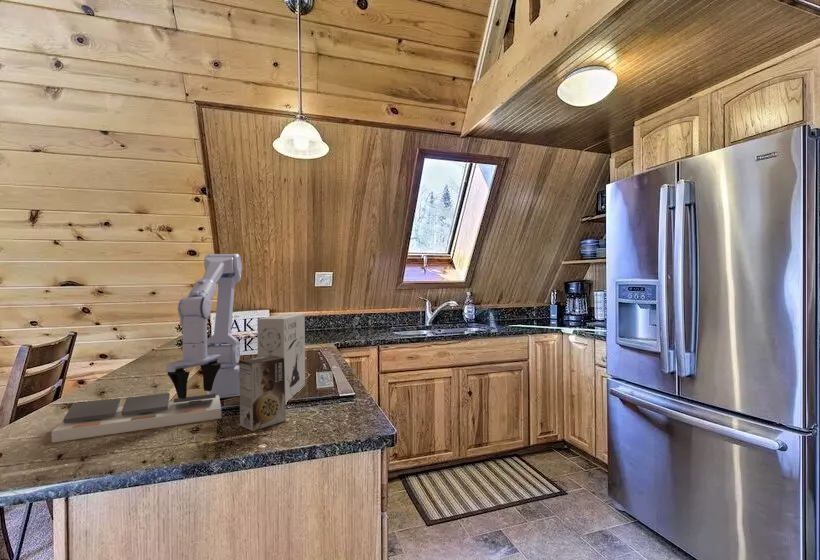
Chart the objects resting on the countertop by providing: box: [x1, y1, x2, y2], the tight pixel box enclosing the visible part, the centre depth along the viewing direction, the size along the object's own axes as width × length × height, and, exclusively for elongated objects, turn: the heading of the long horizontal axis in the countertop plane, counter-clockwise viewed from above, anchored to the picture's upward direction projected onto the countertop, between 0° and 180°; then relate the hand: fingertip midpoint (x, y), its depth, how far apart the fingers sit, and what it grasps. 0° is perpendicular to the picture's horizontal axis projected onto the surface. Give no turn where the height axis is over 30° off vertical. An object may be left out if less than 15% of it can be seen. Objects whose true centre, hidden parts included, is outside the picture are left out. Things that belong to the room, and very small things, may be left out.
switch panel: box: [51, 395, 222, 443], centre depth 104 cm, size 34×15×3 cm, turn 117°
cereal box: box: [257, 312, 306, 406], centre depth 126 cm, size 22×8×25 cm, turn 179°
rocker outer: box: [62, 398, 121, 423], centre depth 99 cm, size 10×8×1 cm
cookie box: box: [238, 355, 287, 432], centre depth 101 cm, size 9×6×16 cm
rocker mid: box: [121, 392, 171, 416], centre depth 104 cm, size 10×8×1 cm
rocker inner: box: [173, 393, 216, 403], centre depth 109 cm, size 10×8×1 cm
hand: (195, 394), depth 106 cm, fingers open, 7 cm apart
